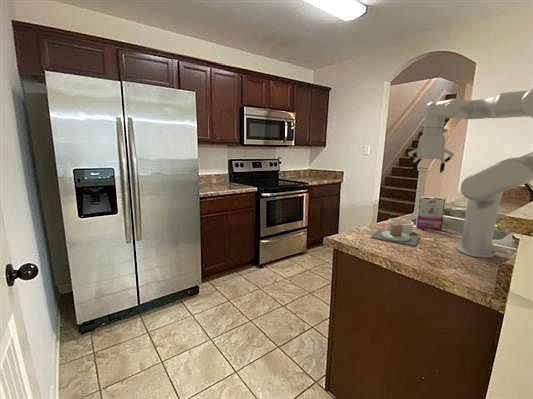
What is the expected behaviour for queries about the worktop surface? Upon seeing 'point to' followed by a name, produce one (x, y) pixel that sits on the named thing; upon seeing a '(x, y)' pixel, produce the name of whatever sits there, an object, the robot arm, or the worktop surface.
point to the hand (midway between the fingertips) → (427, 171)
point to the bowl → (406, 224)
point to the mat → (411, 242)
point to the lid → (396, 233)
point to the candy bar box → (430, 212)
